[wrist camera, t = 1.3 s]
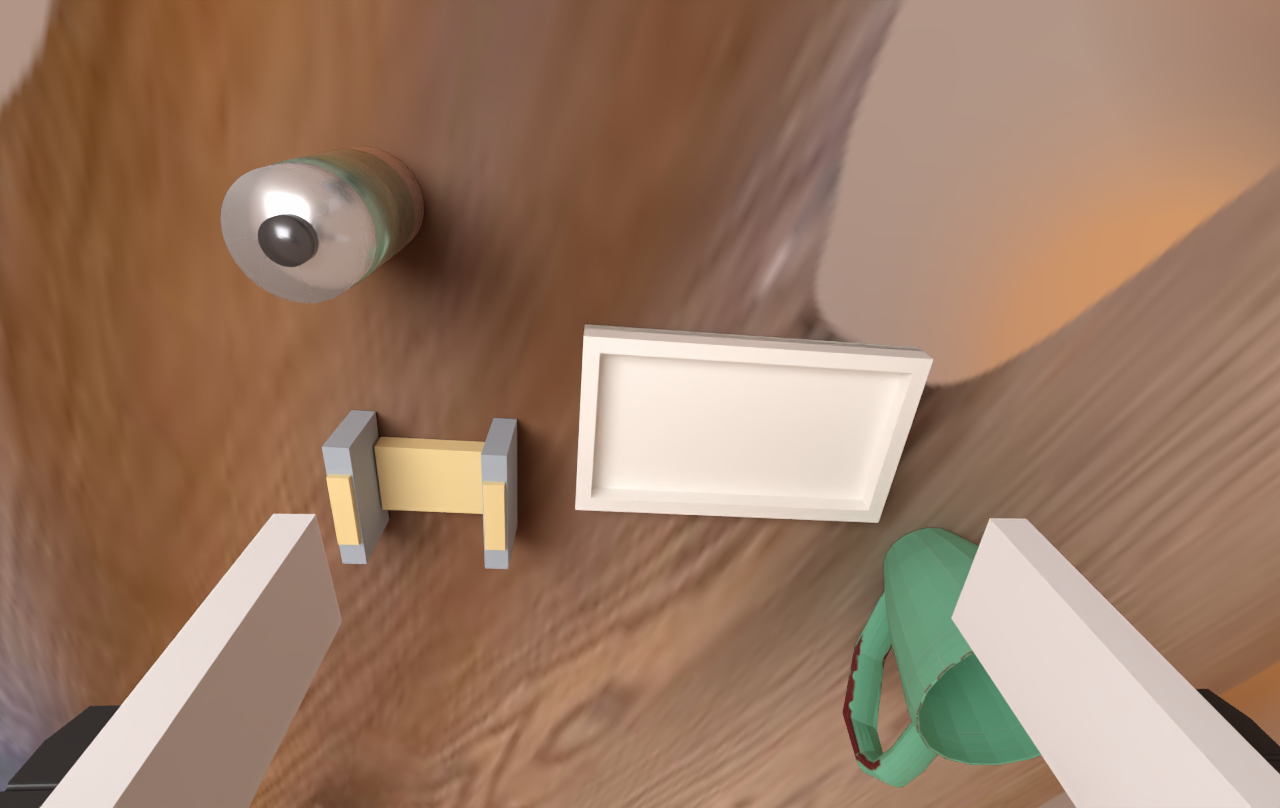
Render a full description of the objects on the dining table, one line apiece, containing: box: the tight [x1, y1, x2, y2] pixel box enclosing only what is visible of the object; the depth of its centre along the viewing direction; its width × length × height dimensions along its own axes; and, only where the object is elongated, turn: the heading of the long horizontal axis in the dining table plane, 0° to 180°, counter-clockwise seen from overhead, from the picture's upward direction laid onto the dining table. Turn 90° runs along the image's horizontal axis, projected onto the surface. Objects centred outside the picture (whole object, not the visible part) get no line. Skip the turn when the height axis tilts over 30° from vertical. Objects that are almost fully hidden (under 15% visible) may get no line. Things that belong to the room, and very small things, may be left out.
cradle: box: [322, 410, 518, 569], centre depth 31 cm, size 7×8×4 cm
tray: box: [575, 324, 933, 523], centre depth 32 cm, size 10×17×2 cm, turn 85°
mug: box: [843, 528, 1041, 787], centre depth 34 cm, size 15×10×10 cm
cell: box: [221, 147, 424, 303], centre depth 23 cm, size 4×4×8 cm
